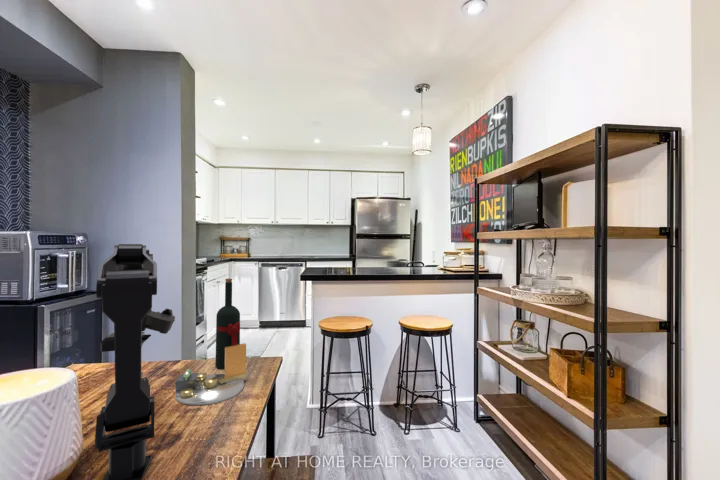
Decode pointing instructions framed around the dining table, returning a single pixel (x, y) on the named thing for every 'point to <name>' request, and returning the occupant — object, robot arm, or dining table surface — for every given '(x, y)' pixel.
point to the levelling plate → (204, 389)
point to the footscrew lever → (231, 366)
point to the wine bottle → (226, 326)
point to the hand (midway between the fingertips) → (132, 369)
